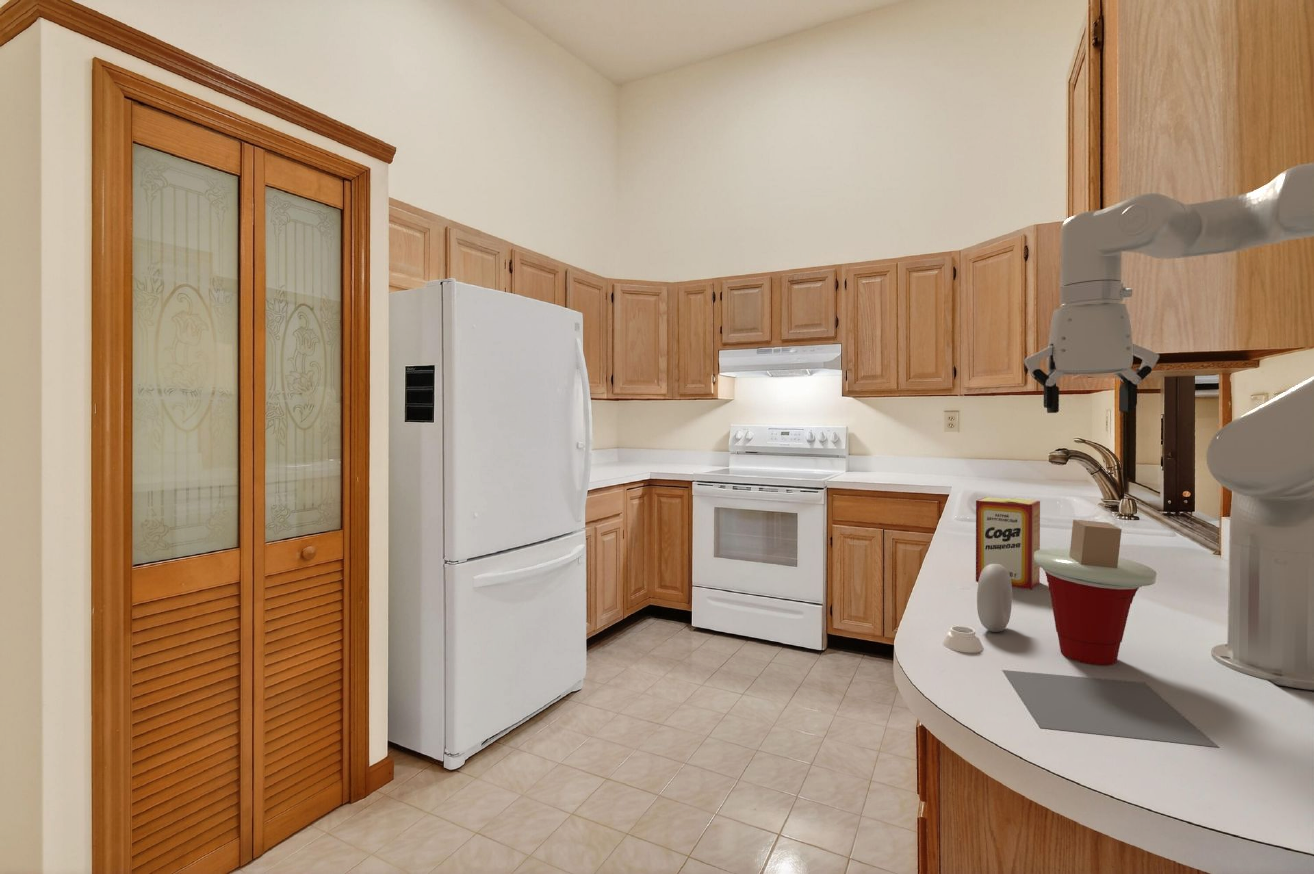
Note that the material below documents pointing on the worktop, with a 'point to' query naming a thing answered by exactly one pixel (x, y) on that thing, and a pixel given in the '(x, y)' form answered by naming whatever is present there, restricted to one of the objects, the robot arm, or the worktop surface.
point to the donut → (994, 597)
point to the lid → (1095, 557)
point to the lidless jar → (962, 640)
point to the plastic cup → (1089, 617)
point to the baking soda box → (1009, 538)
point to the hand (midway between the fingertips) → (1089, 412)
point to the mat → (1103, 708)
